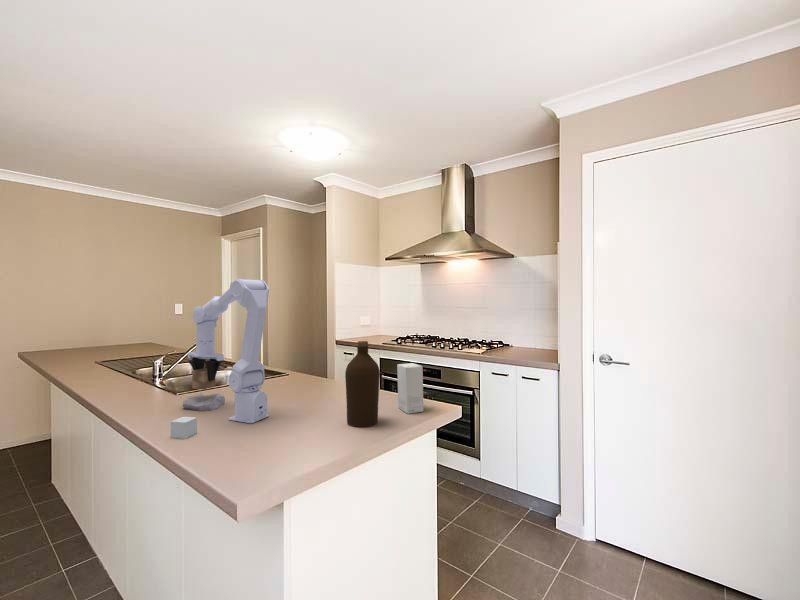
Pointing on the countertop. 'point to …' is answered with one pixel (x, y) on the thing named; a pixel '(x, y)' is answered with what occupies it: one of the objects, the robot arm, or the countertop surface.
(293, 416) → the countertop surface
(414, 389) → the skincare box
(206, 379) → the walnut block
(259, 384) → the robot arm
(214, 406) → the stone block
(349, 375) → the olive oil
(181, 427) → the blue-grey block
